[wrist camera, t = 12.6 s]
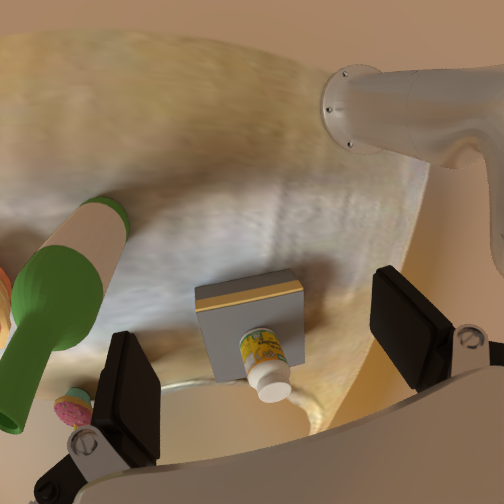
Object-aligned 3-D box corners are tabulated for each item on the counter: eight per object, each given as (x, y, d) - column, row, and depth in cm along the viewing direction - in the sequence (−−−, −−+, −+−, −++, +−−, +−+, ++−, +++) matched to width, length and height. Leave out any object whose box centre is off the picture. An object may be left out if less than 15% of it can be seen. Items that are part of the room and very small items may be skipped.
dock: (289, 266, 45) (303, 288, 40) (293, 339, 51) (304, 363, 46) (193, 285, 43) (195, 310, 38) (212, 356, 50) (216, 382, 44)
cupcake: (106, 405, 51) (99, 454, 40) (74, 409, 50) (65, 455, 40) (83, 378, 47) (71, 430, 36) (51, 383, 46) (37, 431, 36)
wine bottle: (128, 191, 36) (20, 380, 9) (134, 248, 39) (83, 464, 13) (72, 197, 34) (-75, 362, 8) (82, 252, 38) (-10, 445, 11)
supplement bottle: (232, 350, 42) (244, 403, 33) (249, 322, 40) (265, 374, 32) (265, 357, 44) (282, 408, 35) (283, 331, 42) (305, 381, 34)
